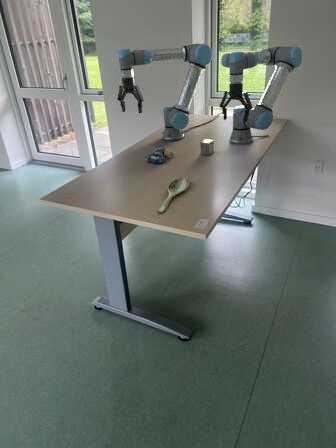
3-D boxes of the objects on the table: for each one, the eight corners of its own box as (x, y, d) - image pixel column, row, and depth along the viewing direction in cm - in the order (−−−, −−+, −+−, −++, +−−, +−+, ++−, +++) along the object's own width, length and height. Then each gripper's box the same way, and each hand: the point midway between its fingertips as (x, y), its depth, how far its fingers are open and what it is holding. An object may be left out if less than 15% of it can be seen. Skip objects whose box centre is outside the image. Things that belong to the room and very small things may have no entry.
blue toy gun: (178, 153, 218) (158, 152, 224) (177, 147, 215) (157, 146, 222) (164, 166, 202) (142, 164, 209) (163, 159, 200) (141, 157, 206)
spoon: (171, 216, 152) (170, 213, 151) (149, 214, 155) (149, 210, 154) (193, 181, 178) (193, 177, 177) (174, 179, 182) (174, 176, 180)
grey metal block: (200, 154, 214) (200, 142, 210) (205, 151, 219) (204, 139, 214) (209, 155, 211) (209, 143, 207) (213, 152, 216) (213, 140, 211)
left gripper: (108, 78, 211) (113, 112, 222) (140, 78, 198) (144, 114, 209) (116, 76, 216) (121, 109, 227) (147, 76, 203) (151, 112, 214)
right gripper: (213, 83, 193) (213, 120, 204) (254, 84, 180) (252, 123, 191) (219, 80, 198) (219, 117, 209) (259, 81, 185) (257, 120, 196)
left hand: (132, 112), depth 218 cm, fingers open, 13 cm apart
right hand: (235, 120), depth 200 cm, fingers open, 13 cm apart
